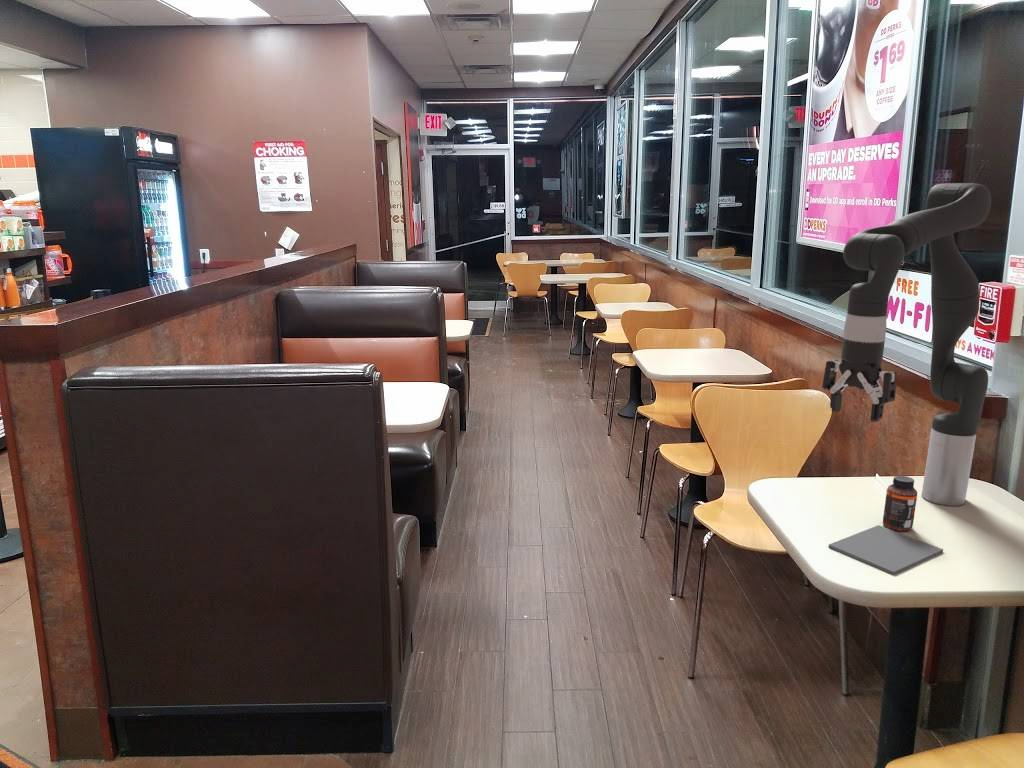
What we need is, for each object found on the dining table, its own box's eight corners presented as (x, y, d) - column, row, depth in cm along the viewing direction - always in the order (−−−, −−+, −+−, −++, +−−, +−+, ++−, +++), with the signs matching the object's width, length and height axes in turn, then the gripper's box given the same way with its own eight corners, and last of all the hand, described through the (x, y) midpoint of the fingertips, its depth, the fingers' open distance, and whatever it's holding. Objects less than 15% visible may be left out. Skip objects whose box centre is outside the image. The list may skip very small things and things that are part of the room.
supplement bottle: (915, 533, 164) (923, 484, 162) (886, 531, 165) (893, 482, 163) (907, 522, 170) (914, 474, 167) (879, 520, 171) (885, 472, 168)
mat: (878, 527, 167) (878, 525, 167) (942, 552, 156) (943, 549, 156) (828, 547, 157) (828, 544, 157) (893, 574, 146) (893, 571, 146)
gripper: (909, 340, 146) (899, 421, 150) (842, 329, 157) (834, 405, 162) (887, 345, 142) (877, 428, 146) (820, 333, 153) (812, 410, 157)
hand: (854, 416), depth 154 cm, fingers open, 8 cm apart
